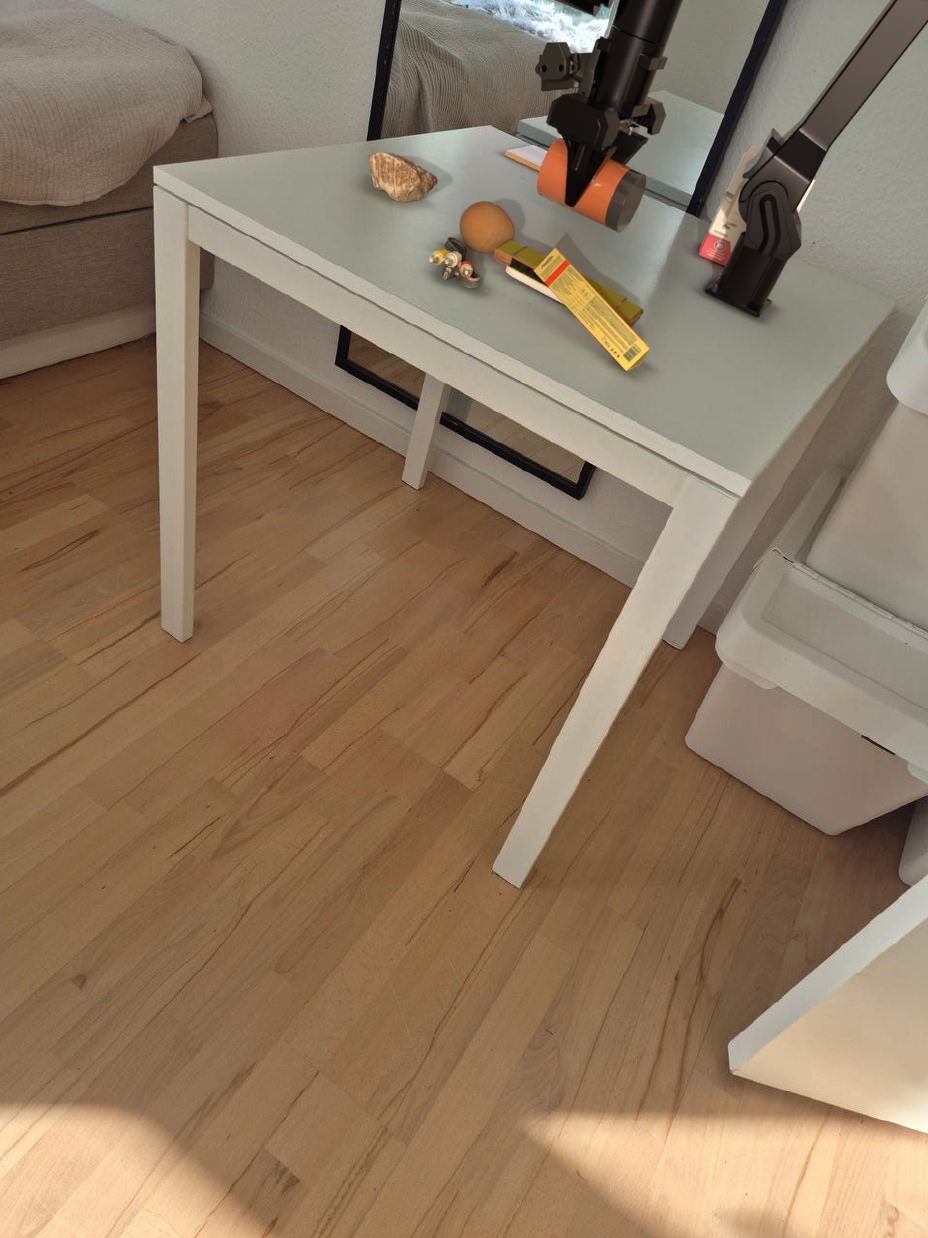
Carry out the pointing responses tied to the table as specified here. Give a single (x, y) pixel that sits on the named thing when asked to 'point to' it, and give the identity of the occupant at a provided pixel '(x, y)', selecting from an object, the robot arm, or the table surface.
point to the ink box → (731, 217)
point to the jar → (594, 189)
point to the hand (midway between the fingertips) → (580, 201)
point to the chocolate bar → (592, 310)
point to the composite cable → (456, 263)
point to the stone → (400, 177)
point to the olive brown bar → (522, 268)
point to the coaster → (528, 156)
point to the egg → (486, 227)
